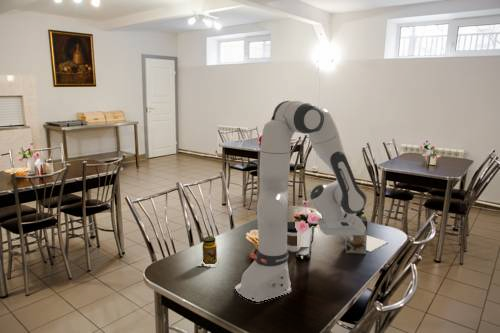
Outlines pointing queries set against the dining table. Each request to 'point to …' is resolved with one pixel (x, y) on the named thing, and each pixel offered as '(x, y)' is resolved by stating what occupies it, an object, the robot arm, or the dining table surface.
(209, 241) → the condiment
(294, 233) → the coffee cup
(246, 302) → the dining table surface
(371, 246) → the mat
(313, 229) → the food container
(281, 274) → the robot arm
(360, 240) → the coffee box
